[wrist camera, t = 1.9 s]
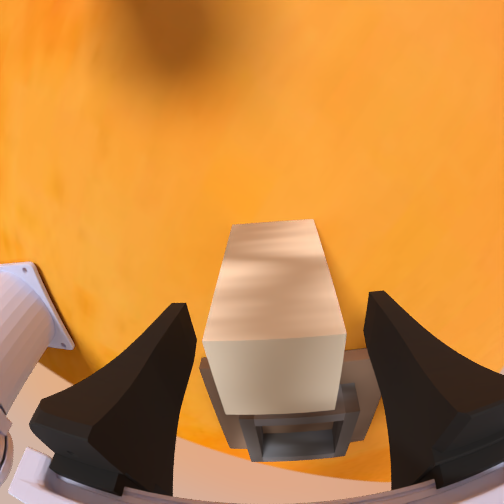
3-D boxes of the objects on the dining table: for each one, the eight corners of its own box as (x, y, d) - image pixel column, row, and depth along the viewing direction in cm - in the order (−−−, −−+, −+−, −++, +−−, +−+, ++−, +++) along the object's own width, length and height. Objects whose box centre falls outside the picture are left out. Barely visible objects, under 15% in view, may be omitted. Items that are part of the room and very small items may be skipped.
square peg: (242, 290, 17) (225, 414, 10) (232, 224, 15) (202, 341, 8) (314, 286, 17) (334, 409, 10) (313, 219, 15) (346, 333, 8)
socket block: (231, 440, 26) (227, 469, 23) (201, 357, 20) (192, 397, 17) (362, 431, 25) (367, 461, 22) (390, 344, 19) (404, 383, 16)
